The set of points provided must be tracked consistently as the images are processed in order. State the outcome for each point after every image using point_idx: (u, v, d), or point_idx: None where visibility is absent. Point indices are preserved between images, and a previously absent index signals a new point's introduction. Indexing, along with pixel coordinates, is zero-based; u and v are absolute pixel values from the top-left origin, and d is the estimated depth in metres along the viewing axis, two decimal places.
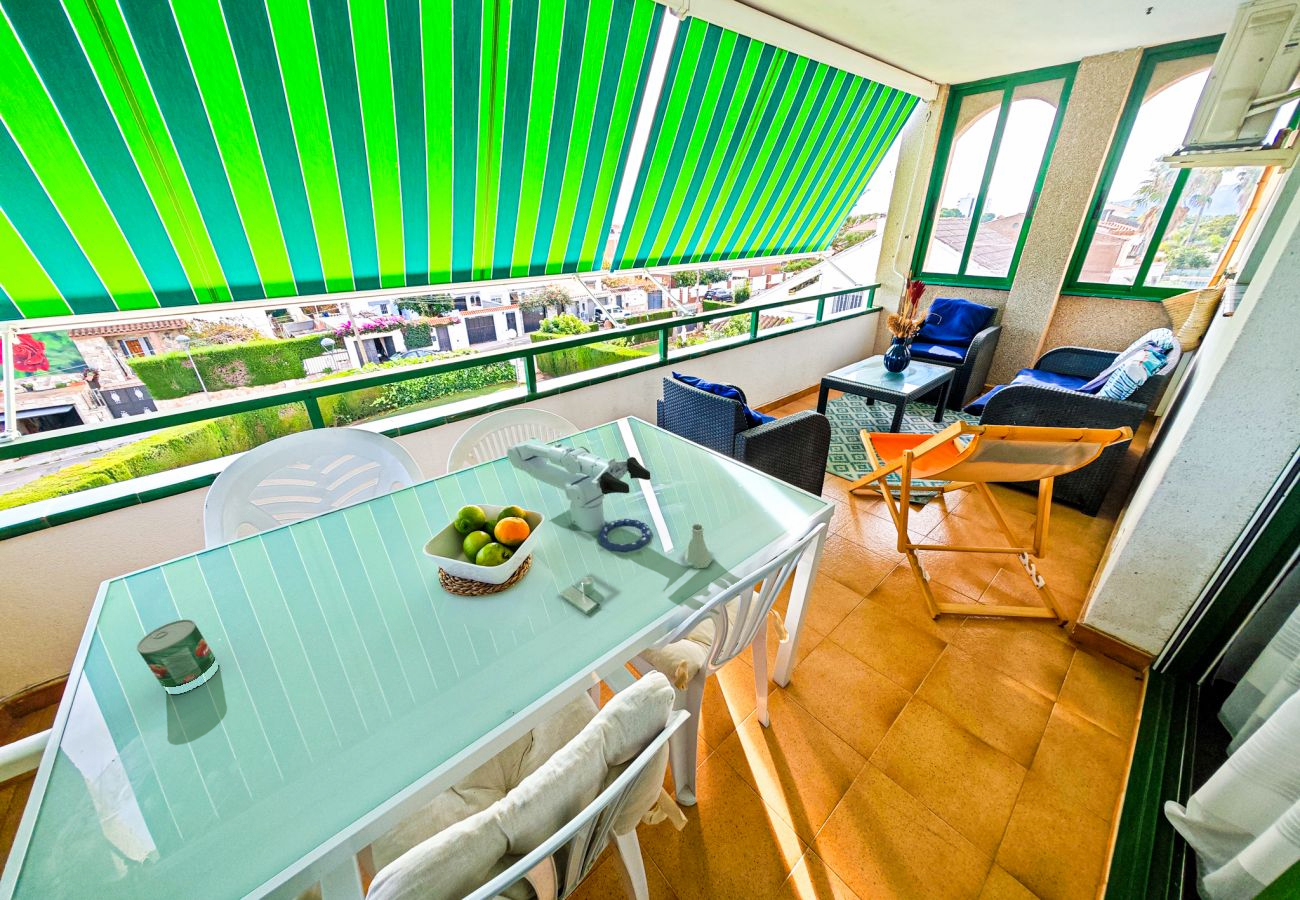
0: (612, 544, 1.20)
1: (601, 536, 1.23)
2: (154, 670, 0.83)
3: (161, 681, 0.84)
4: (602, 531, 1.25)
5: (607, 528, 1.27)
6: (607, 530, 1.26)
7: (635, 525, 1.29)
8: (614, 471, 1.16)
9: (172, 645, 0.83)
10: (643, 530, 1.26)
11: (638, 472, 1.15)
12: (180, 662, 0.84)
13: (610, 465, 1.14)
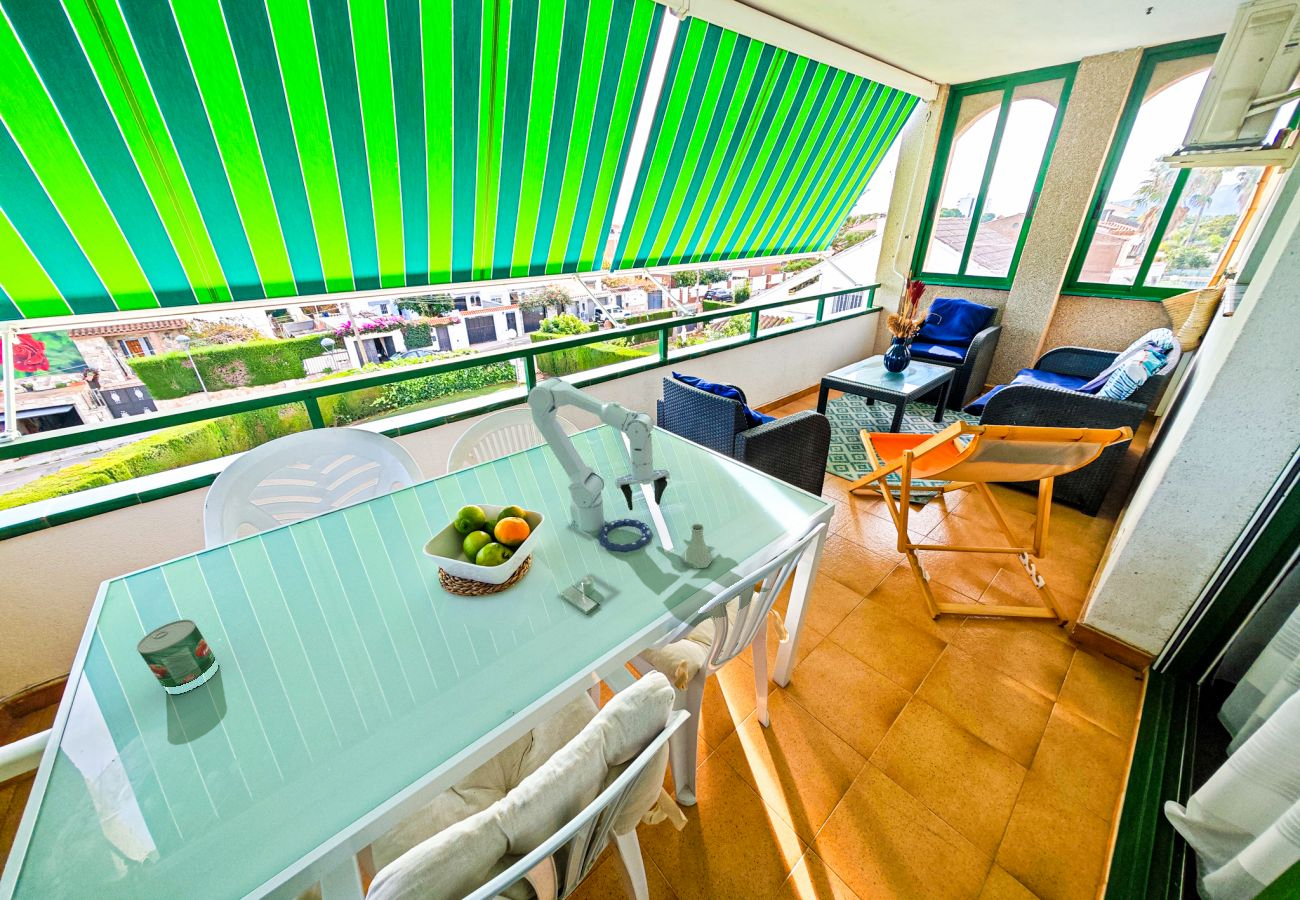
0: (612, 544, 1.20)
1: (601, 536, 1.23)
2: (154, 670, 0.83)
3: (161, 681, 0.84)
4: (602, 531, 1.25)
5: (607, 528, 1.27)
6: (607, 530, 1.26)
7: (635, 525, 1.29)
8: None
9: (172, 645, 0.83)
10: (643, 530, 1.26)
11: (656, 491, 1.23)
12: (180, 662, 0.84)
13: None
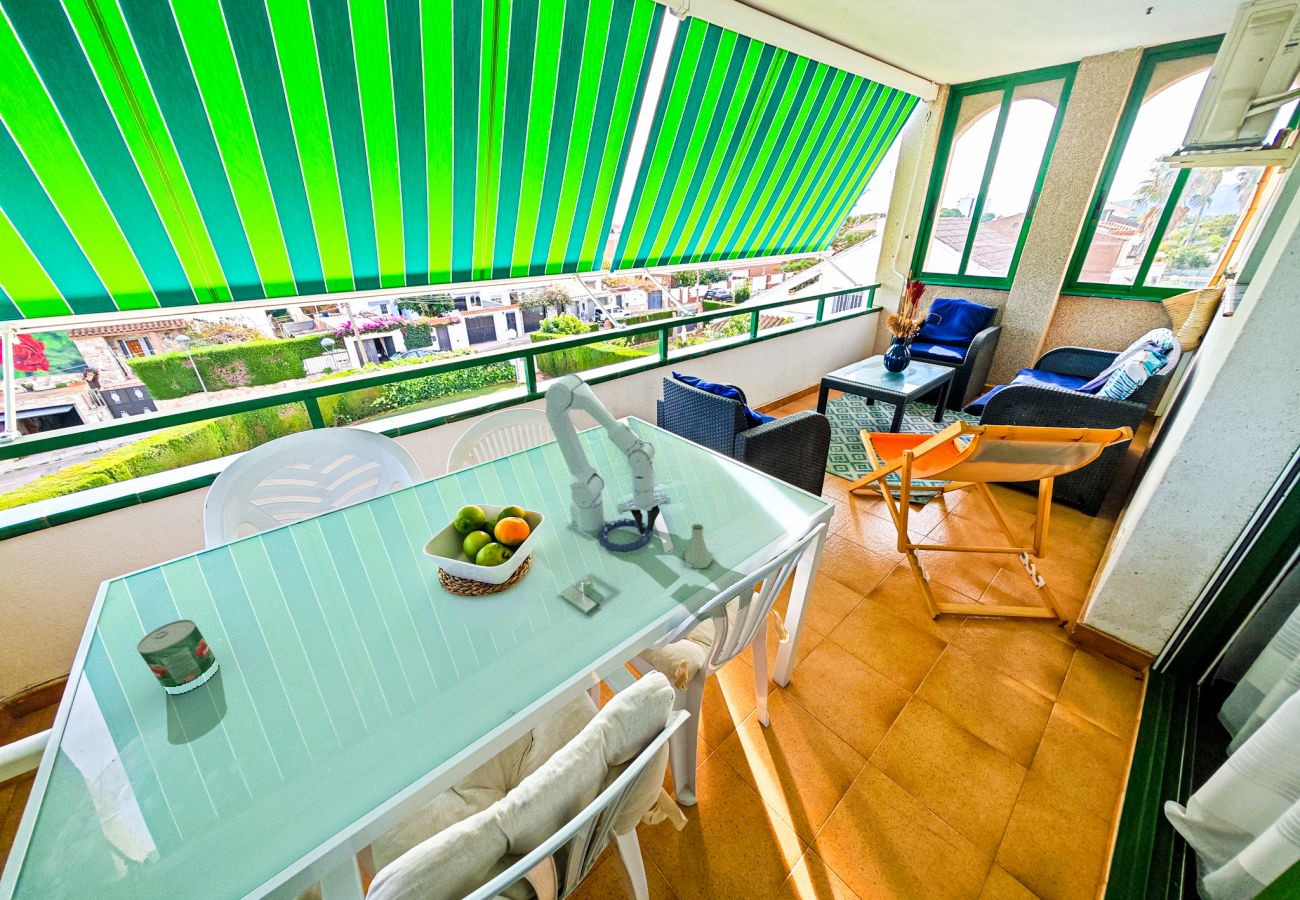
0: (612, 544, 1.20)
1: (601, 536, 1.23)
2: (154, 670, 0.83)
3: (161, 681, 0.84)
4: (602, 531, 1.25)
5: (607, 528, 1.27)
6: (607, 530, 1.26)
7: (635, 525, 1.29)
8: None
9: (172, 645, 0.83)
10: (643, 530, 1.26)
11: (649, 518, 1.26)
12: (180, 662, 0.84)
13: None
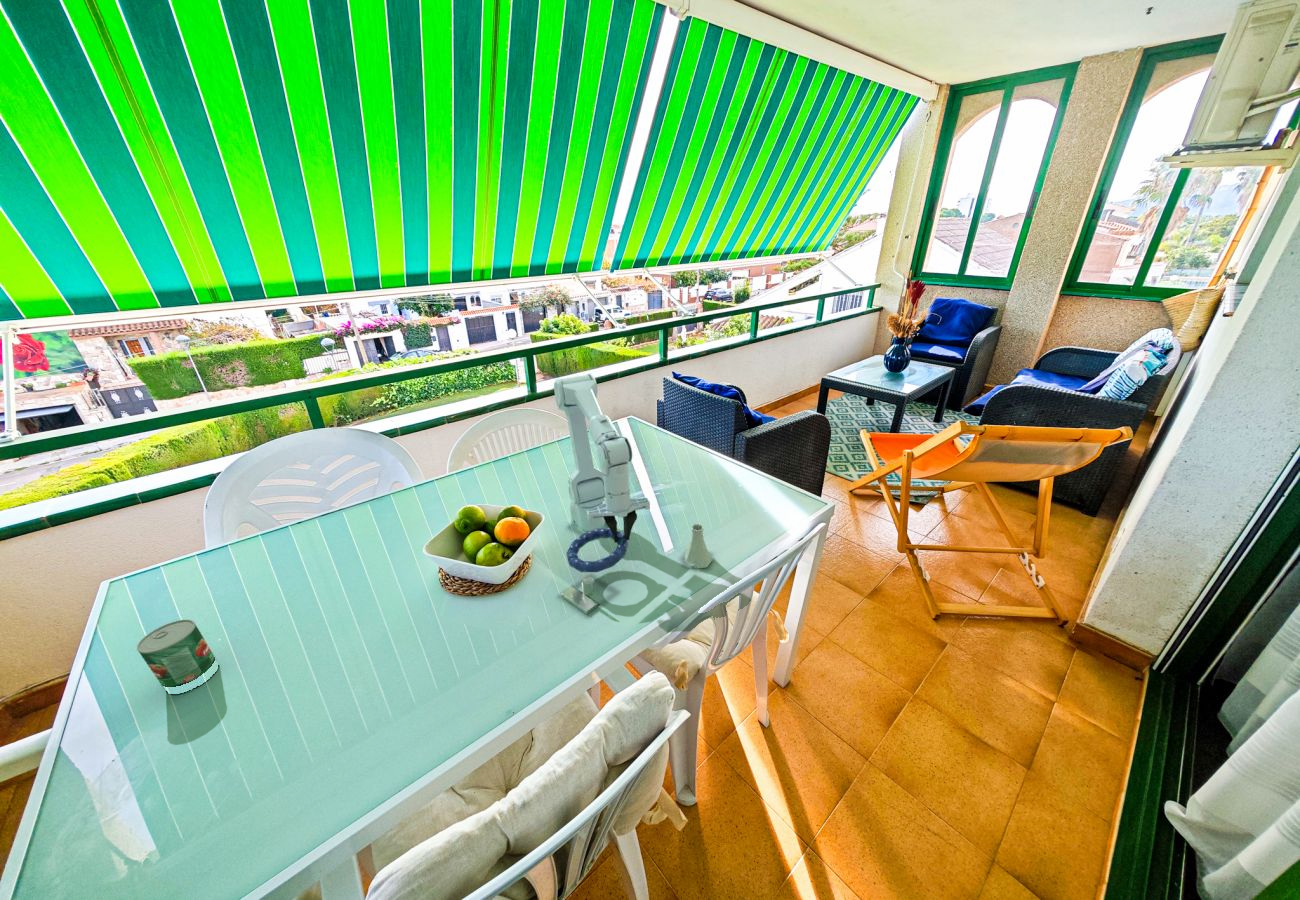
0: (581, 562, 1.02)
1: (569, 554, 1.06)
2: (154, 670, 0.83)
3: (161, 681, 0.84)
4: (571, 547, 1.08)
5: (577, 543, 1.10)
6: (577, 545, 1.09)
7: (610, 535, 1.11)
8: None
9: (172, 645, 0.83)
10: (618, 540, 1.08)
11: (625, 525, 1.08)
12: (180, 662, 0.84)
13: None
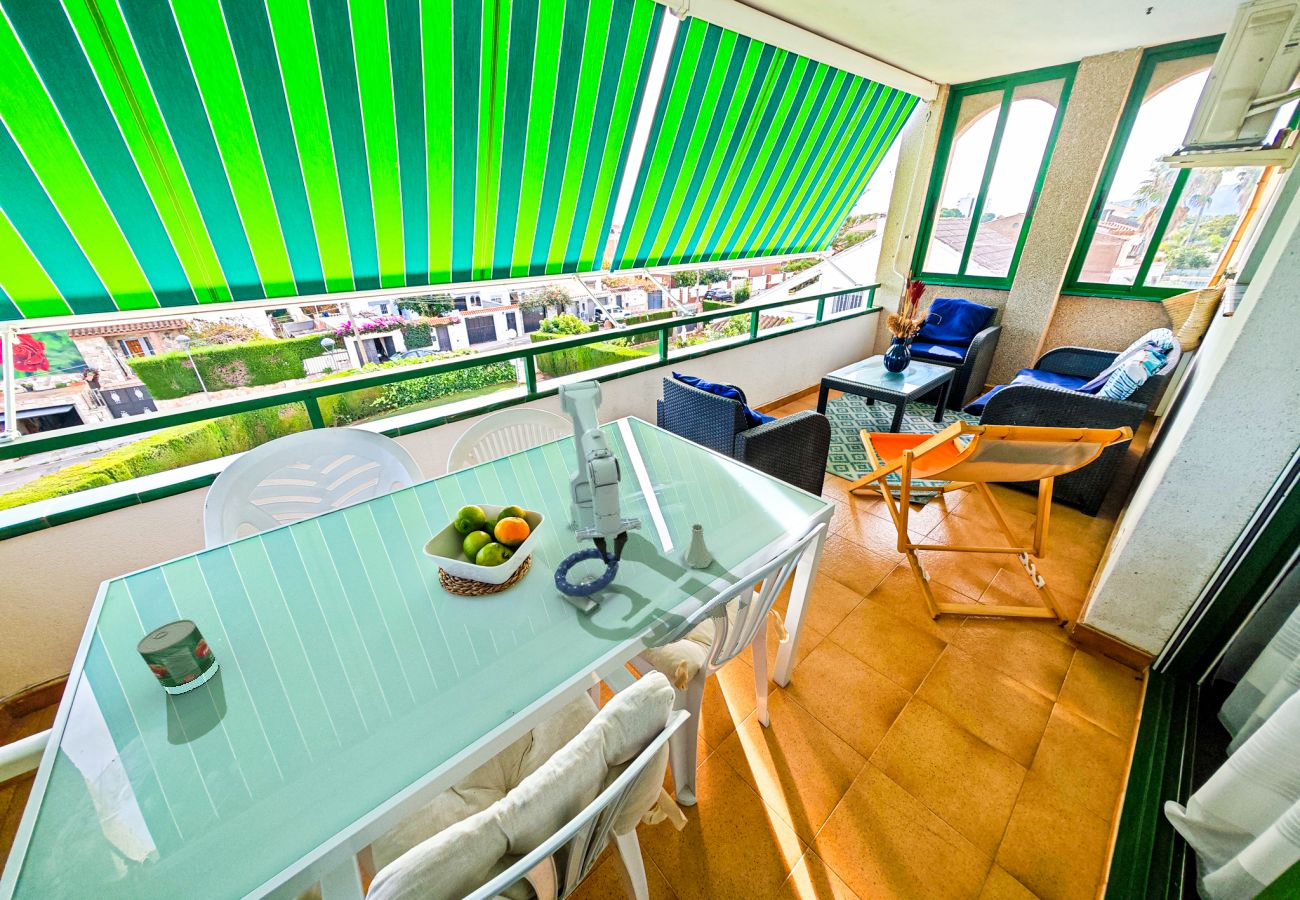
0: (568, 586, 0.98)
1: (557, 576, 1.02)
2: (154, 670, 0.83)
3: (161, 681, 0.84)
4: (559, 569, 1.04)
5: (566, 564, 1.05)
6: (566, 567, 1.05)
7: (600, 556, 1.06)
8: None
9: (172, 645, 0.83)
10: (608, 562, 1.03)
11: (615, 546, 1.03)
12: (180, 662, 0.84)
13: None
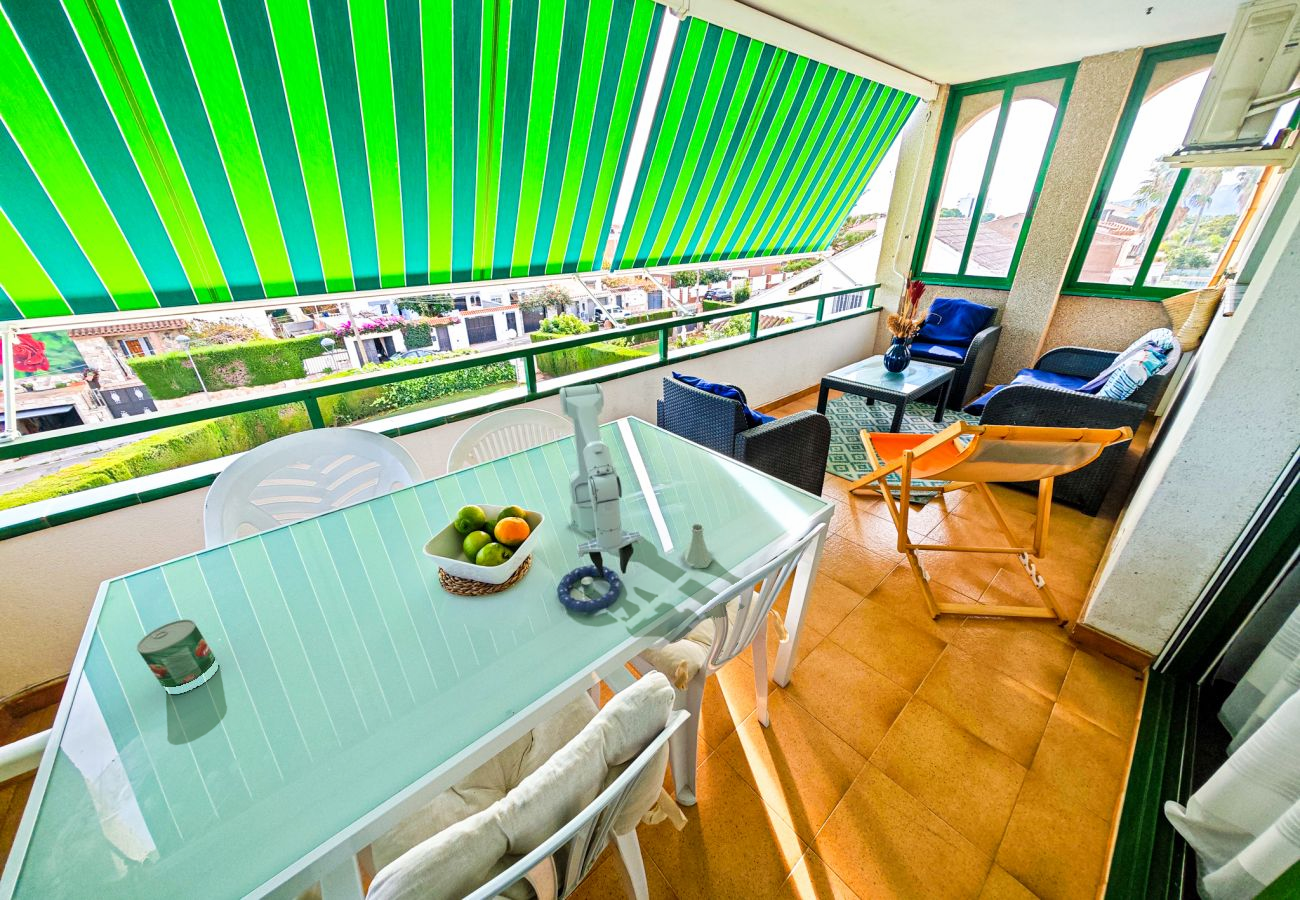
0: (572, 601, 1.00)
1: (560, 589, 1.03)
2: (154, 670, 0.83)
3: (161, 681, 0.84)
4: (562, 582, 1.05)
5: (569, 578, 1.07)
6: (569, 580, 1.06)
7: None
8: None
9: (172, 645, 0.83)
10: (611, 581, 1.06)
11: (621, 558, 1.05)
12: (180, 662, 0.84)
13: None
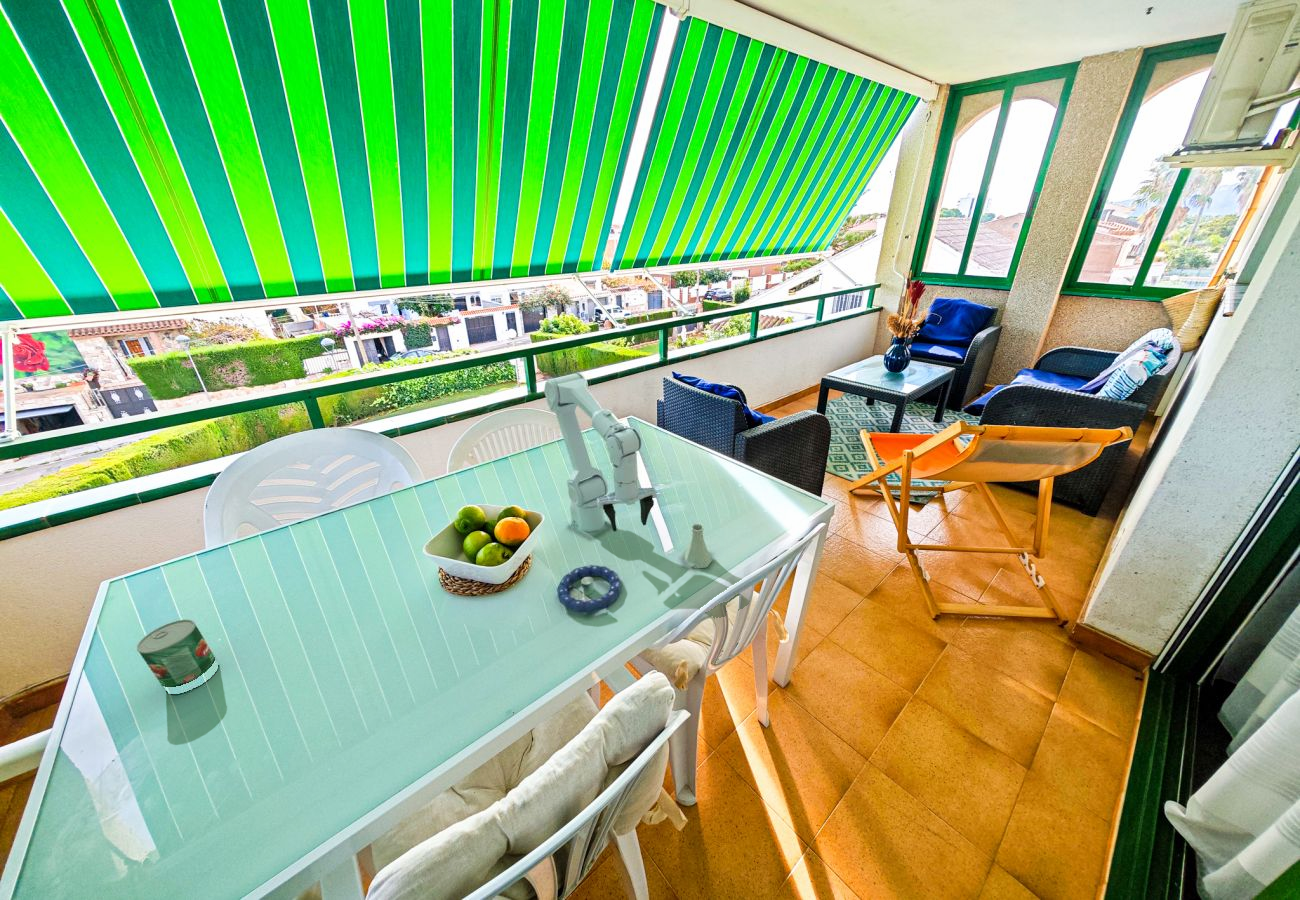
0: (572, 601, 1.00)
1: (560, 589, 1.03)
2: (154, 670, 0.83)
3: (161, 681, 0.84)
4: (562, 582, 1.05)
5: (569, 578, 1.07)
6: (569, 580, 1.06)
7: (603, 574, 1.09)
8: None
9: (172, 645, 0.83)
10: (611, 581, 1.06)
11: (642, 511, 1.14)
12: (180, 662, 0.84)
13: None
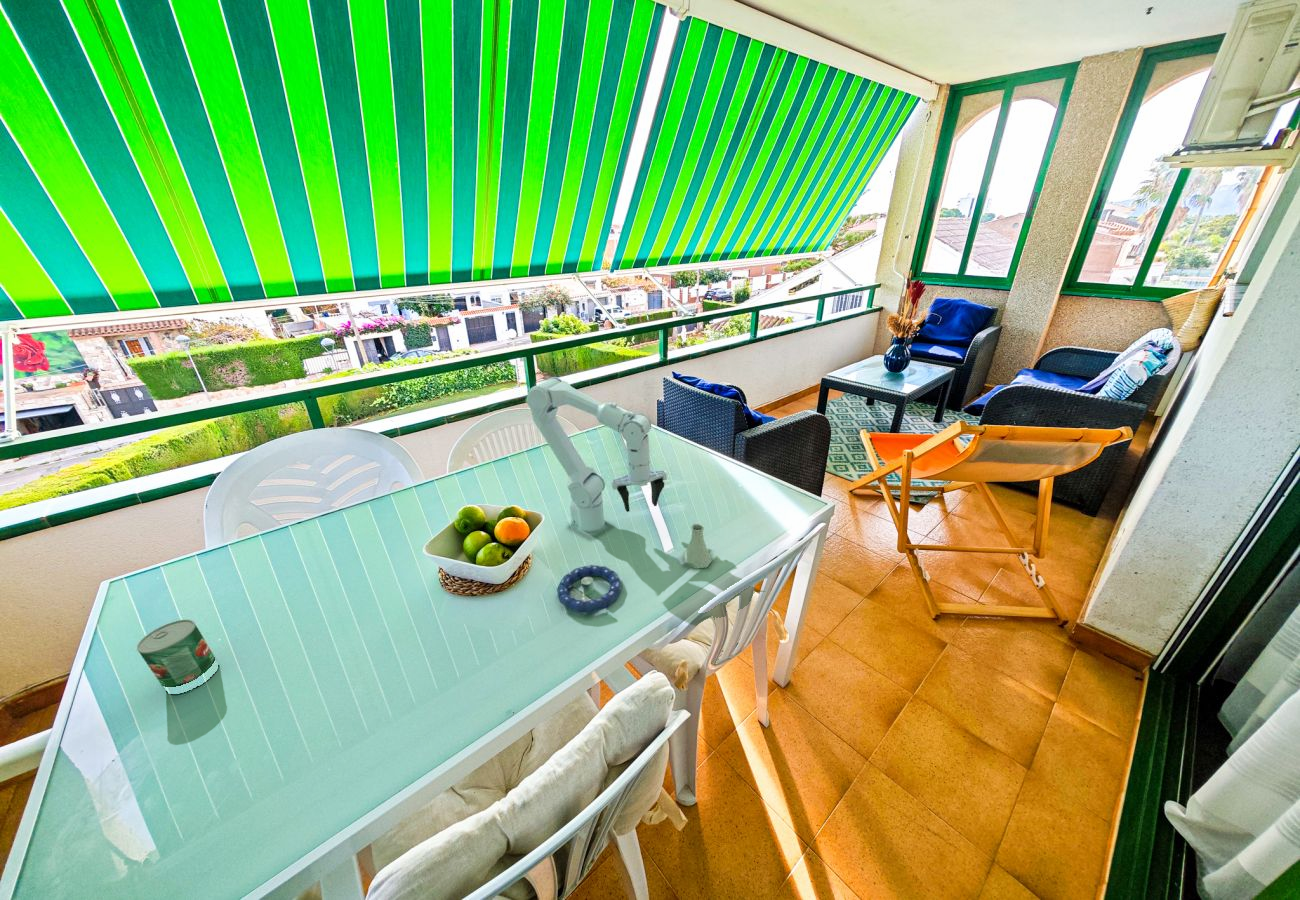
0: (572, 601, 1.00)
1: (560, 589, 1.03)
2: (154, 670, 0.83)
3: (161, 681, 0.84)
4: (562, 582, 1.05)
5: (569, 578, 1.07)
6: (569, 580, 1.06)
7: (603, 574, 1.09)
8: None
9: (172, 645, 0.83)
10: (611, 581, 1.06)
11: (653, 492, 1.22)
12: (180, 662, 0.84)
13: None
